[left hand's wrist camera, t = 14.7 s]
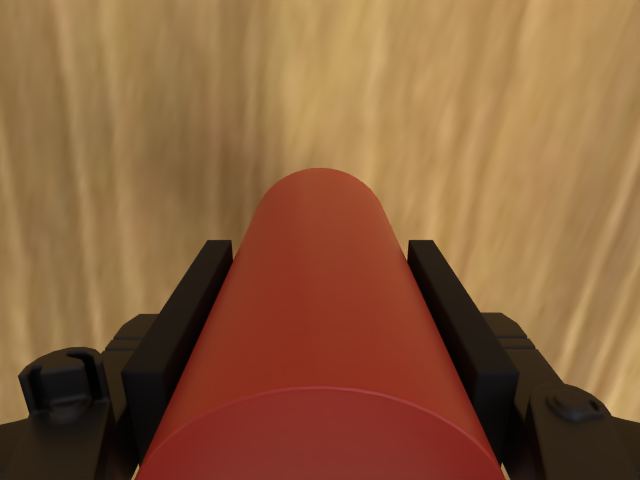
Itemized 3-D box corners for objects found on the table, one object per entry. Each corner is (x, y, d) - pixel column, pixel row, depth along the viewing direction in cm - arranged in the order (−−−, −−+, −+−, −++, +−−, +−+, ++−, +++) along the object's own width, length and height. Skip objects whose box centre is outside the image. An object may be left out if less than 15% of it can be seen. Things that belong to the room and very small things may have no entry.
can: (235, 186, 18) (55, 435, 6) (372, 152, 17) (494, 345, 5) (274, 305, 20) (202, 677, 8) (398, 278, 19) (530, 629, 7)
